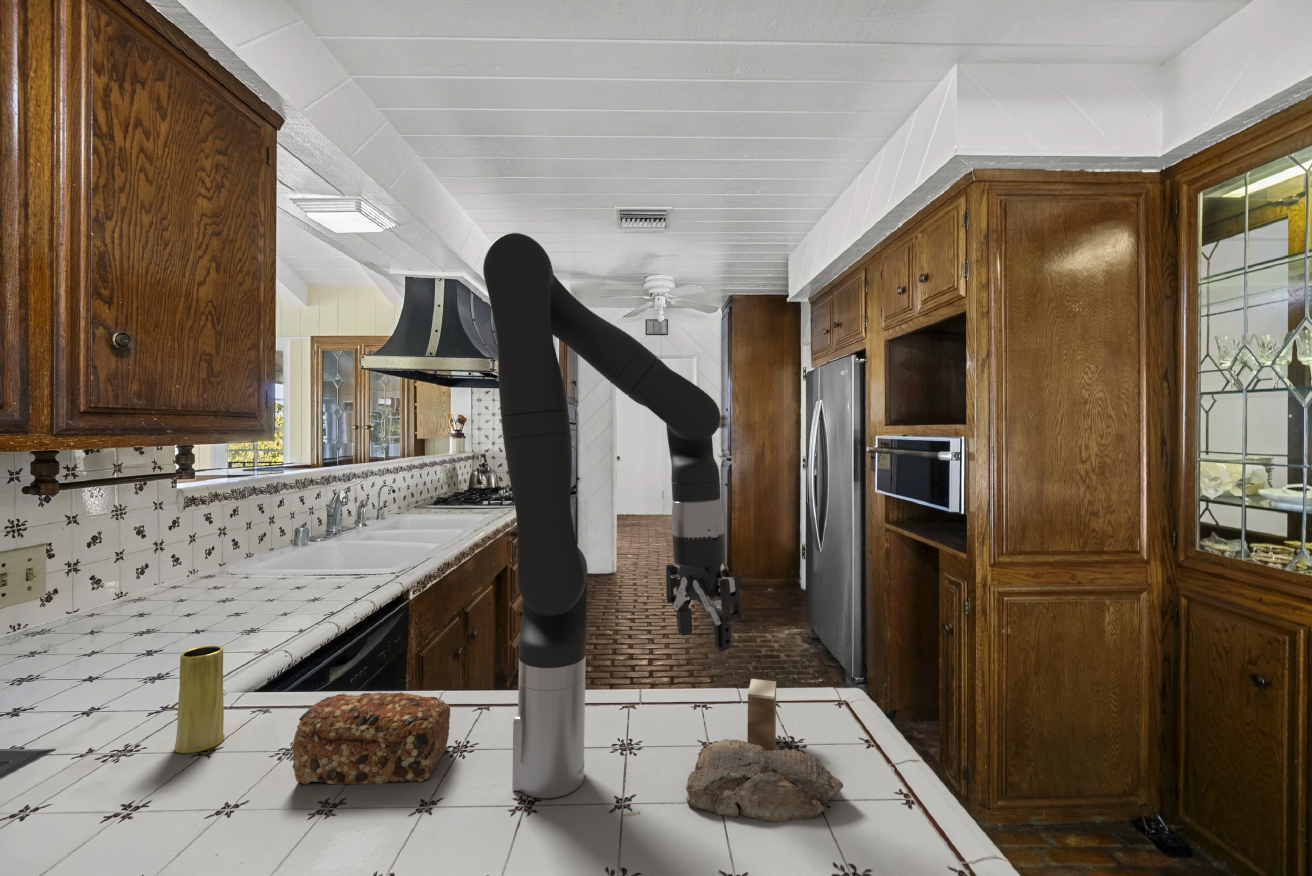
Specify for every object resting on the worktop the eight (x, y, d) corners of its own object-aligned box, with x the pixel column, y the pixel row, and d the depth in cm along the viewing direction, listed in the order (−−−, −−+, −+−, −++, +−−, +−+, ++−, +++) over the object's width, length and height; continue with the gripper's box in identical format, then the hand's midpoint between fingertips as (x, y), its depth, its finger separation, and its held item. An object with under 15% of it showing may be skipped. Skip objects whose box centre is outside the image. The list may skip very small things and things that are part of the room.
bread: (289, 789, 79) (290, 715, 79) (328, 748, 90) (329, 683, 90) (430, 786, 80) (431, 713, 80) (452, 746, 91) (453, 681, 91)
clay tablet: (840, 778, 84) (702, 754, 89) (841, 744, 84) (703, 722, 89) (845, 844, 70) (682, 812, 76) (846, 804, 70) (683, 774, 76)
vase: (175, 758, 86) (177, 661, 86) (173, 742, 91) (175, 650, 91) (226, 745, 90) (228, 652, 90) (222, 730, 95) (224, 641, 95)
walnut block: (747, 752, 90) (747, 693, 90) (750, 733, 96) (751, 678, 96) (773, 756, 89) (774, 696, 89) (775, 737, 95) (776, 681, 95)
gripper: (649, 528, 89) (654, 635, 89) (709, 540, 77) (716, 662, 77) (688, 522, 93) (693, 624, 93) (751, 532, 81) (757, 648, 82)
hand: (703, 641), depth 85 cm, fingers open, 8 cm apart
